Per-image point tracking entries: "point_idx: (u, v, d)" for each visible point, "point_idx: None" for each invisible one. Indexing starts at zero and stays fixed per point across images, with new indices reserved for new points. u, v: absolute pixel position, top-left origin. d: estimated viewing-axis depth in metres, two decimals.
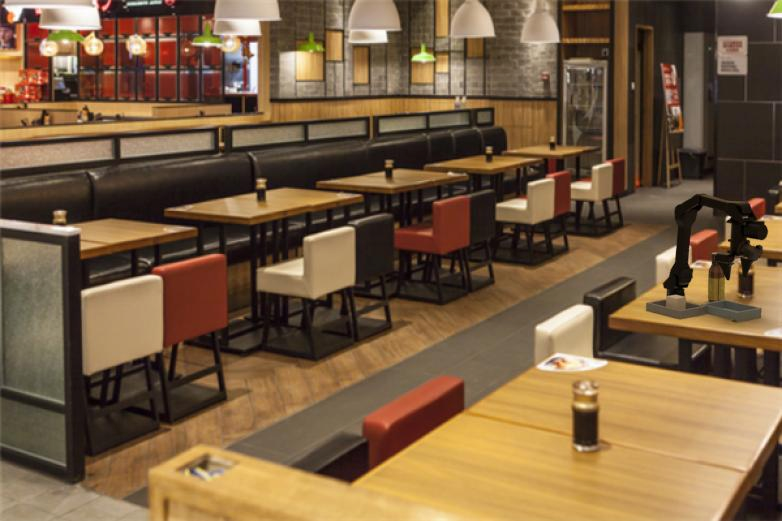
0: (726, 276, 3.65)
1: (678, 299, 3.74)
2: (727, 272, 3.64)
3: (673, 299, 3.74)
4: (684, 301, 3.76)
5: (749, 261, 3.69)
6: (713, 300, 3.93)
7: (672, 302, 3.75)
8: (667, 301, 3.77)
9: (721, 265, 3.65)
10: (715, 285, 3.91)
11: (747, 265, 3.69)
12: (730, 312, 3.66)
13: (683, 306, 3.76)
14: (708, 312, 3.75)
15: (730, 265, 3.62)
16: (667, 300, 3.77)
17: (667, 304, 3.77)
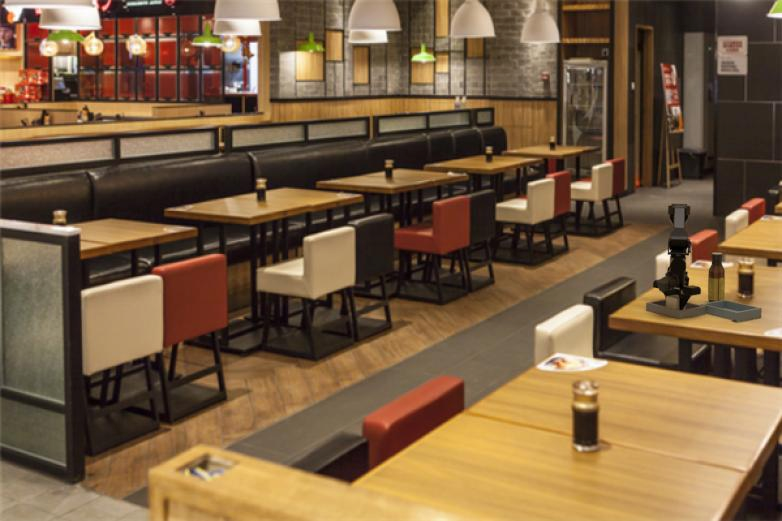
0: None
1: (678, 299, 3.74)
2: None
3: (673, 299, 3.74)
4: None
5: None
6: (713, 300, 3.93)
7: (672, 302, 3.75)
8: (667, 301, 3.77)
9: None
10: (715, 285, 3.91)
11: None
12: (730, 312, 3.66)
13: None
14: (708, 312, 3.75)
15: (663, 292, 3.79)
16: (667, 300, 3.77)
17: (667, 304, 3.77)
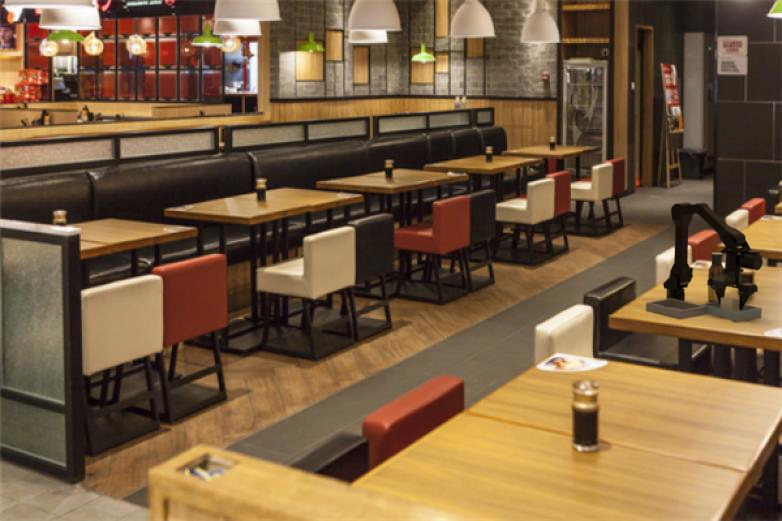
0: None
1: (733, 300, 3.71)
2: None
3: (728, 301, 3.71)
4: None
5: None
6: (713, 300, 3.93)
7: (728, 304, 3.72)
8: (722, 302, 3.74)
9: None
10: None
11: None
12: (730, 312, 3.66)
13: (738, 308, 3.73)
14: (708, 312, 3.75)
15: (714, 289, 3.77)
16: (722, 301, 3.74)
17: (722, 306, 3.74)
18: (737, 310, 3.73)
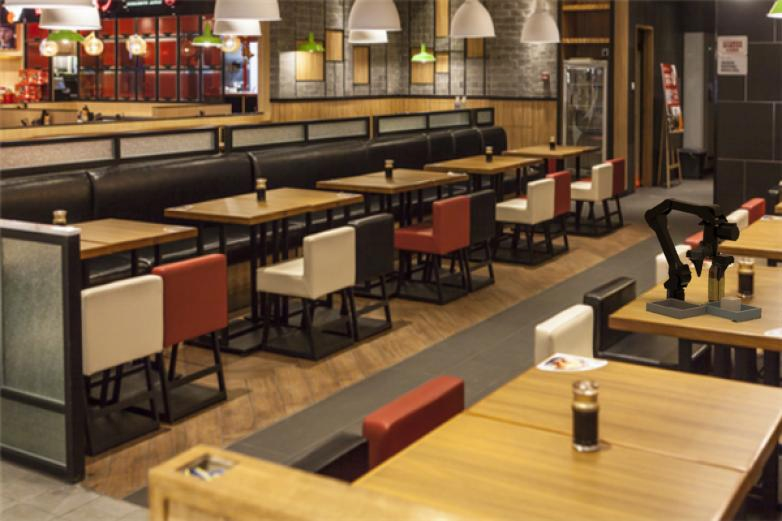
0: None
1: (733, 300, 3.71)
2: None
3: (728, 301, 3.71)
4: (739, 303, 3.73)
5: None
6: (713, 300, 3.93)
7: (728, 304, 3.72)
8: (722, 302, 3.74)
9: None
10: (715, 285, 3.91)
11: None
12: (730, 312, 3.66)
13: (738, 308, 3.73)
14: (708, 312, 3.75)
15: (692, 261, 3.85)
16: (722, 301, 3.74)
17: (722, 306, 3.74)
18: (737, 310, 3.73)
